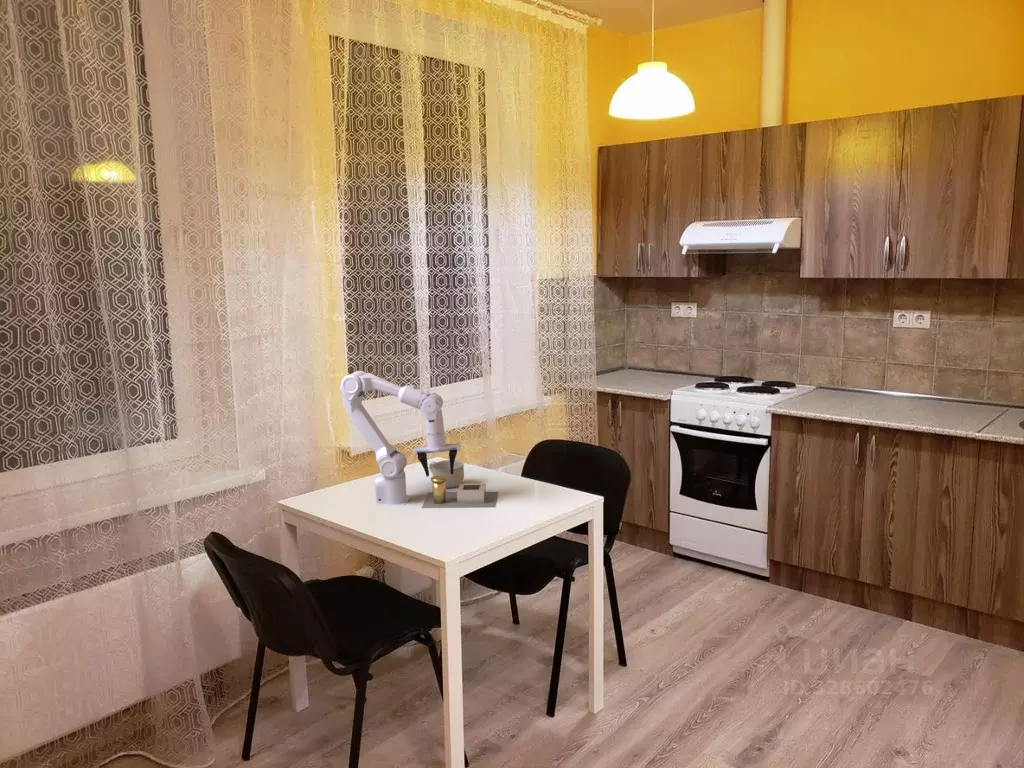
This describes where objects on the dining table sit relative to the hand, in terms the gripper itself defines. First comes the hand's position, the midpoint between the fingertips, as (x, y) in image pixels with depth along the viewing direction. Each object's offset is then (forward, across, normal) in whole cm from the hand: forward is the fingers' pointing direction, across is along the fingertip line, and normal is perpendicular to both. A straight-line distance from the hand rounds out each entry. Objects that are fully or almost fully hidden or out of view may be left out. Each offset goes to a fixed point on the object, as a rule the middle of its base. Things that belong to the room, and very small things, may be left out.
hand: (439, 474), depth 240 cm
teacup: (+10, 0, +20) cm, 22 cm away
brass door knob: (+9, -1, 0) cm, 9 cm away
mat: (+10, +6, +2) cm, 12 cm away
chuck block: (+10, +9, +2) cm, 13 cm away
